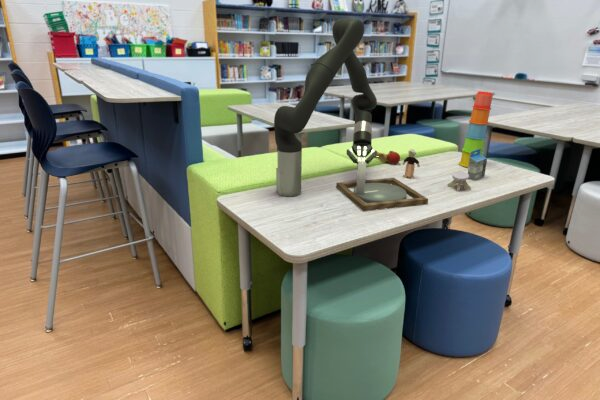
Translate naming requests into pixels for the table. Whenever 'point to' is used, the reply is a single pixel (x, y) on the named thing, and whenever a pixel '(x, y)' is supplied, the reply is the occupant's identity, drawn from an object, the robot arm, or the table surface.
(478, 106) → the stacking cups
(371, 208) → the dial frame
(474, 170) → the label tape box
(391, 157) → the kendama
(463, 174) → the tree stump
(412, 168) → the grandmother figurine
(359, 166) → the dial
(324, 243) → the table surface
